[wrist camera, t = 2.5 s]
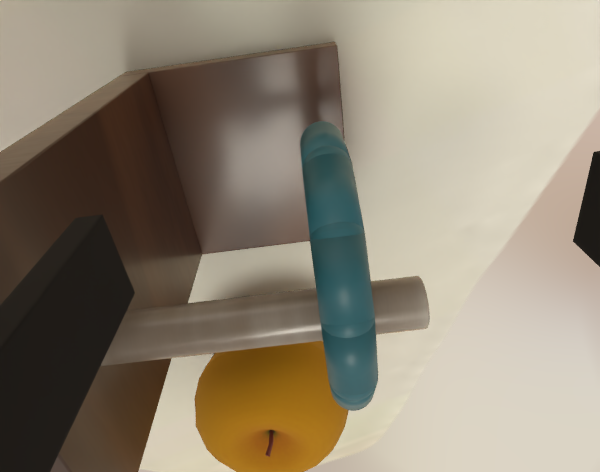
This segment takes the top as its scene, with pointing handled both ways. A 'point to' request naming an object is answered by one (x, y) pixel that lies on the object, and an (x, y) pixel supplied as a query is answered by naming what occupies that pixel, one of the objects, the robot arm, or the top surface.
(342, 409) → the apple
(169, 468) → the top surface
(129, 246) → the hook board
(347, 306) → the ring
